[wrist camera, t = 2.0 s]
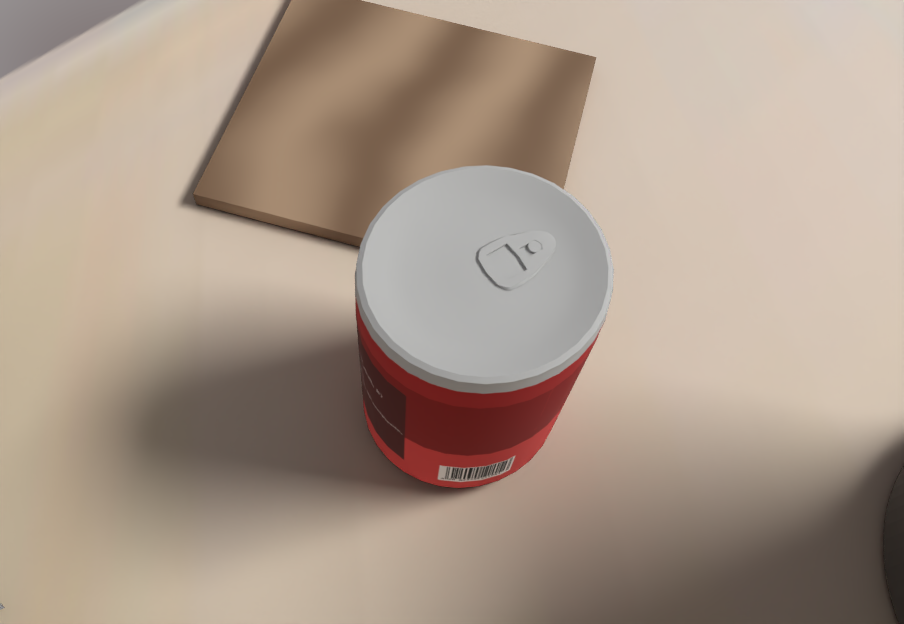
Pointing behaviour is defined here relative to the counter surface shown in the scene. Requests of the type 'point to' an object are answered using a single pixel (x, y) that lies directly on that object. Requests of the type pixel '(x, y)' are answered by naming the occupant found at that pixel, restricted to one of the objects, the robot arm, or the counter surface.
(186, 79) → the counter surface
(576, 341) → the canned food
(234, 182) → the walnut board
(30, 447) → the counter surface
